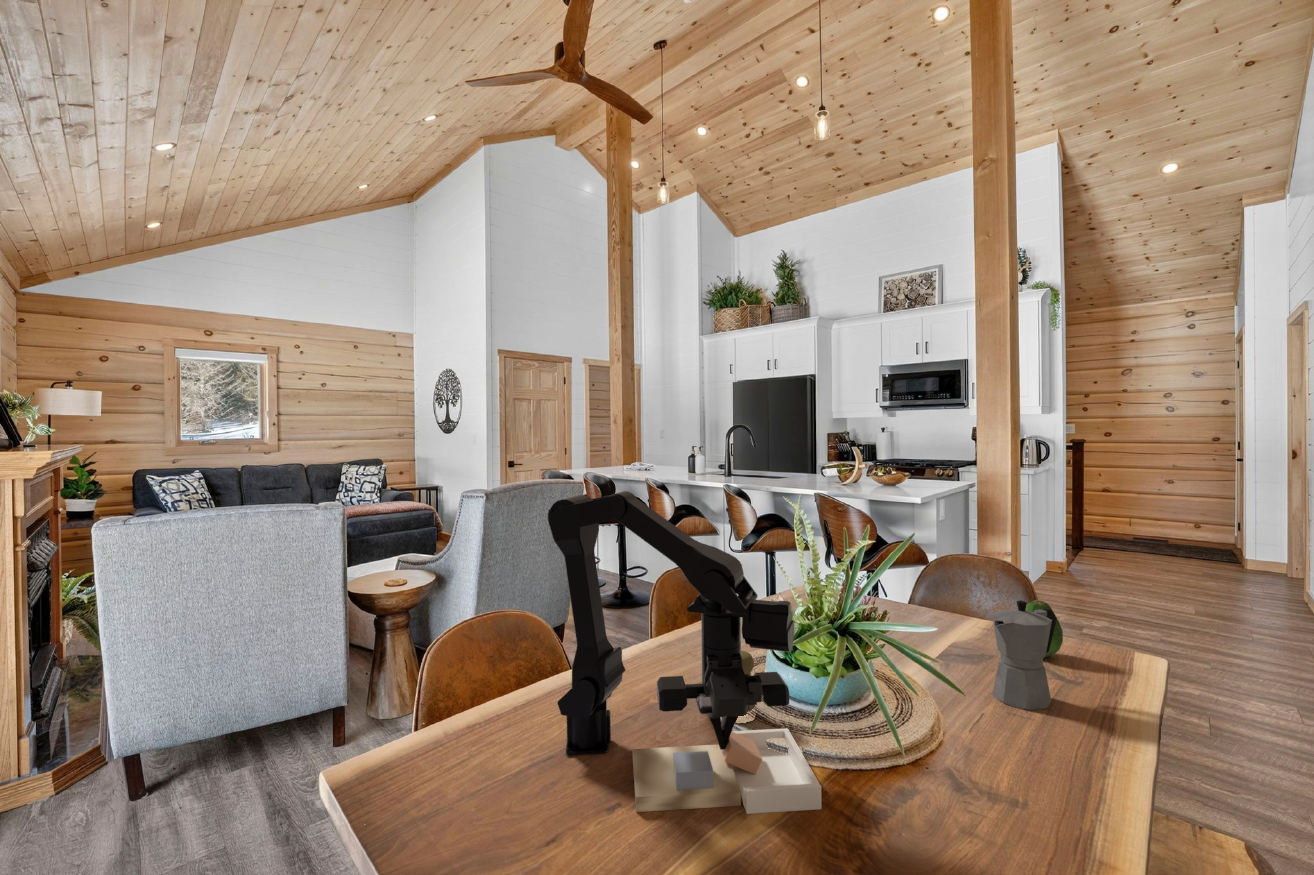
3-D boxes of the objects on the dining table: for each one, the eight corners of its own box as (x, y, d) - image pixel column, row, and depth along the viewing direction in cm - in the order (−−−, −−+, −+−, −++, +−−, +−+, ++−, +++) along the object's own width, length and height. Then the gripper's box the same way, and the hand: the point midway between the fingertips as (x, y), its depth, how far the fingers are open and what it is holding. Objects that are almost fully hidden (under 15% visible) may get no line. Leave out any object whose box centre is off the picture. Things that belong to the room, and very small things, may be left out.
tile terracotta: (724, 761, 90) (731, 745, 90) (718, 743, 94) (725, 728, 94) (755, 774, 90) (762, 759, 90) (747, 755, 95) (754, 741, 95)
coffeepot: (1020, 717, 106) (1020, 613, 106) (972, 695, 115) (973, 598, 114) (1079, 700, 112) (1080, 601, 112) (1030, 680, 121) (1030, 588, 120)
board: (635, 812, 82) (635, 797, 82) (632, 762, 94) (632, 749, 94) (740, 805, 83) (740, 790, 83) (724, 756, 95) (724, 744, 95)
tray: (746, 813, 82) (746, 791, 82) (724, 750, 97) (724, 731, 97) (821, 809, 82) (821, 786, 82) (787, 747, 98) (787, 728, 98)
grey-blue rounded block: (676, 790, 84) (676, 772, 84) (672, 769, 89) (672, 752, 89) (713, 788, 84) (713, 770, 84) (707, 767, 89) (707, 750, 89)
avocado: (1011, 653, 135) (1011, 598, 134) (1034, 647, 138) (1035, 593, 138) (1047, 666, 128) (1048, 608, 127) (1071, 659, 131) (1072, 602, 131)
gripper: (661, 667, 83) (663, 783, 83) (800, 661, 84) (801, 775, 84) (655, 638, 94) (657, 740, 94) (778, 633, 95) (779, 734, 95)
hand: (722, 748), depth 92 cm, fingers closed
